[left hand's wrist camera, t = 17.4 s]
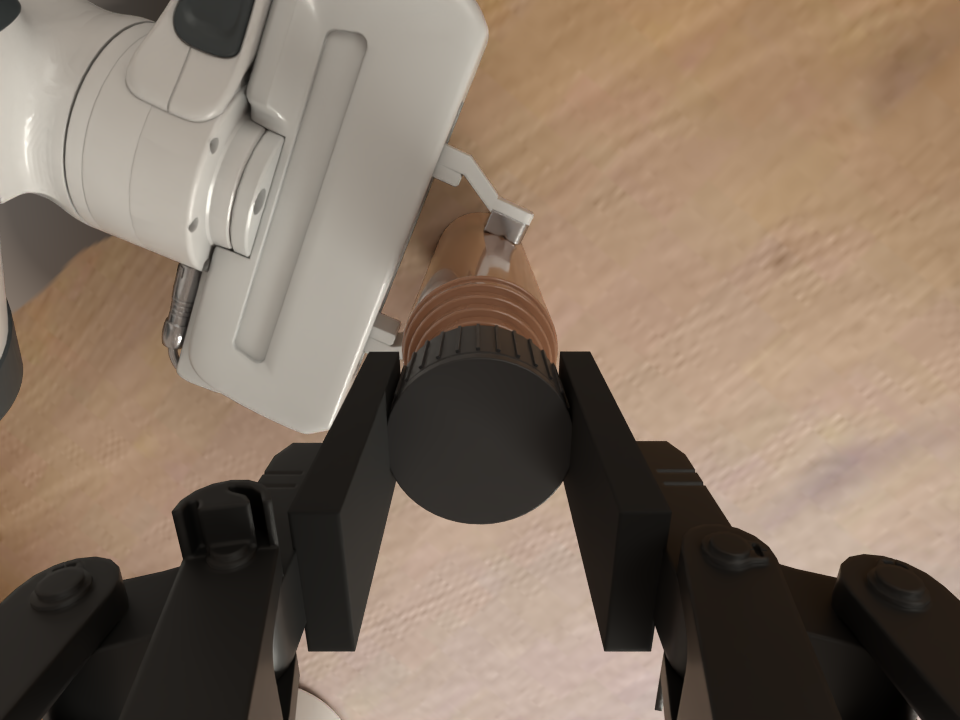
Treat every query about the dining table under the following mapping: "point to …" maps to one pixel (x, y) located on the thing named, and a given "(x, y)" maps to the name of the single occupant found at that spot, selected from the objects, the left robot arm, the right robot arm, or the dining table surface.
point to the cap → (479, 426)
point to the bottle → (478, 289)
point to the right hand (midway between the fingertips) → (497, 290)
